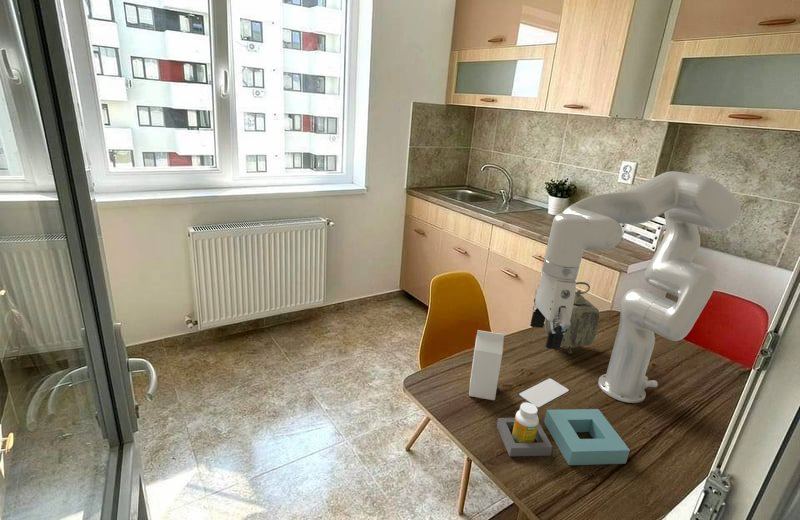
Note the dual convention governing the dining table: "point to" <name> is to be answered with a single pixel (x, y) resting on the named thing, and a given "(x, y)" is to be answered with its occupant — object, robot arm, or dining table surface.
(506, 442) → the grey picture frame
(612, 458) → the socket block
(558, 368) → the dining table surface
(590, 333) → the tabletop clock
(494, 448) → the dining table surface
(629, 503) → the dining table surface
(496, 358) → the milk carton
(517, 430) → the supplement bottle
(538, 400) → the smartphone
